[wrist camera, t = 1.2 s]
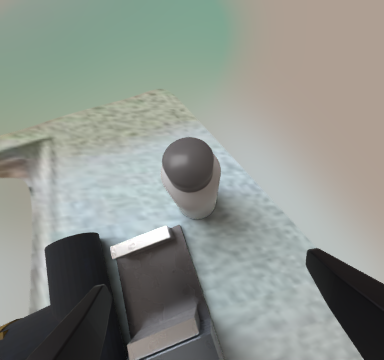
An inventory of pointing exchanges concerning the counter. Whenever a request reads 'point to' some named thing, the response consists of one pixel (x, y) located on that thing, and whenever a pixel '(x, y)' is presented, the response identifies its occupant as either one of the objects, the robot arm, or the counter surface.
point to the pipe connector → (64, 298)
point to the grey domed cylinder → (191, 176)
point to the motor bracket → (164, 299)
